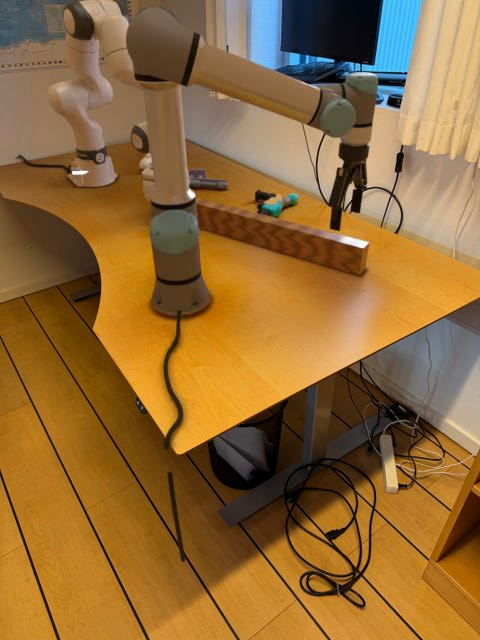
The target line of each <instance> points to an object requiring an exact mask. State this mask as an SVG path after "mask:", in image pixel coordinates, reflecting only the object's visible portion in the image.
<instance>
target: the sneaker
mask: <svg viewBox="0 0 480 640" xmlns="http://www.w3.org/2000/svg"><path fill="white" fill-rule="evenodd" d="M151 162H152V160H151V154H150V153H146V155H145V156H144V157H143V158H142V159H141V160H140V162H139V169H141V170H142V171H143V170H144V169H145V168H147V167H148V165H149V164H150V163H151Z"/></svg>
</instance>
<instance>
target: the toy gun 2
mask: <svg viewBox="0 0 480 640" xmlns="http://www.w3.org/2000/svg"><path fill="white" fill-rule="evenodd" d="M254 200H255V202H259V201H260V202H259V203H258V204H257V205H256V208H257V211H256V213H259V214H263V215H266V216H270V217H274V218H277V217H279V216H280V215H281V214H282V209H283V208H284V207H286V206H289V205H294V204H296V203H297V201H299V195H298V194H297V193H289V194H287V196H285V197H284V195H282V194H280V193H274V192H271V193H269V192H266V191H262V190H261V189H257V190H256V191H255V193H254Z"/></svg>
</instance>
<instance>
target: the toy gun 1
mask: <svg viewBox="0 0 480 640" xmlns="http://www.w3.org/2000/svg"><path fill="white" fill-rule="evenodd" d="M188 173H189V179H190V184H189V188H198V189H212V190H213V189H216V190H227V188H228V186H229V184H228V180H227V179H220V178H219V179H218V178H216V179H215V178H206V172H205V169H201V168H196V169H195V168H194V169H190V170H188Z"/></svg>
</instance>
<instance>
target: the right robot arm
mask: <svg viewBox="0 0 480 640" xmlns="http://www.w3.org/2000/svg"><path fill="white" fill-rule="evenodd" d="M126 46H127V51H128V54H129V56H130V58H131V60H132V62H133V69H134V77H135V81H136V82H137V83H138V84H139V85H140V86H141V87H142V88H143V90H142V93H143V102H144V109H145V119H146V121H147V126H148V134H149V142H150V150H151V158H152V166H153V174H154V183H155V191H154V192H153V193H152V194H151V196H150V198H151V202H150V205H151V212H152V219H151V220H150V222H149V226H148V227H149V230H148V237H149V241H150V244H151V251H152V252H151V253H152V260H153V268H154V274H155V275H154V276H155V281H154V284H153V290H152V294H151V305H152V308H153V310H154V311H155V312H156V313H157V314H159V315H160V316H163V317H167V318H171V319H176V325H175V326H176V332H175V337H174V340H173V342H172V343H171V346H169V348H168V350H167V351H166V354H165V356H164V360H163V377H164V382H165V386H166V390H167V391H168V394H169V395H170V398H171V399H172V400H173V402H174V404H175V407H176V408H177V418H176V420H175V422H174V423H173V424H172V425H171V427H170V428H169V429H168V431H167V433H166V434H165V437H164V442H163V449H164V450H168V449H169V448H170V442H171V438H172V436H173V434H174V432H175V431H176V430H177V429H178V427H179V426H180V425H181V424H182V421H183V418H184V409H183V405H182V402H181V401H180V400H179V398H178V396H177V395H176V393H175V391H174V390H173V387H172V384H171V380H170V379H171V378H170V376H169V360H170V356H171V355H172V353H173V351H174V350H175V348H176V346H177V345H178V343H179V340H180V335H181V320H182V319H183V318H185V319H186V318H190V317H194V316H196V315H199V314H201V313H202V312H204V311H205V310H207V308H208V307H209V306H210V303H211V294H210V293H211V292H210V290H209V288H208V286H207V284H206V281H205V278H204V277H203V275H202V262H201V261H202V259H201V247H200V228H199V226H198V223H197V220H198V216H197V210H196V198H195V197H196V193H195V191H194V190H193V189H192V188H191V187H189V183H188V173H189V170H188V158H187V148H186V134H185V122H184V121H185V120H184V109H183V96H182V86H183V87H186V88H190V87H191V86H193V85H197V86H199V87H201V88H205V89H208V90H210V91H212V92H216V93H219V94H222V95H224V96H227V97H230V98H233V99H236V100H238V101H240V102H243V103H246V104H249V105H252V106H254V107H257V108H261V109H262V110H265V111H268V112H271V113H273V114H276V115H278V116H282V117H284V118H287V119H291V120H293V121H296V122H298V123H301V124H304V125H306V126H308V127H311V128H313V129H316V130H318V131H321V132H322V133H324V135H326V136H328V137H330V138H333V139H338V138H339V141H340V142H339V144H338V154H337V156H338V158H339V159H340V160H342V161H343V162H342V166H341V167H340V166H338V167H337V168H336V172H335V177H334V181H333V186H332V188H331V193H330V195H329V200H328V204H327V207H329V208H331V210H330V211H331V213H330V222H329V230H332V231H336V232H340V231H341V225H342V217H343V209H344V208H343V203H344V200H345V197H346V194H347V192H348V189H349V187H350V185H352V184H353V186H354V188H353V189H352V195H351V202H350V208H349V209H350V211H349V212H350V213H354V214H360V213H361V208H362V202H363V194H364V191H367V189H368V186H367V185H368V169H367V168H368V167H367V159H368V158H369V154H370V153H369V152H370V146H371V145H370V142H371V140H372V134H373V125H374V124H373V122H374V116H375V111H376V103H377V98H378V89H379V78H378V77H379V76H377V75H376V74H375V73H372V72H367V71H365V72H363V71H359V72H357V71H356V72H350V73H348V74H347V75H346V77H345V81H344V82H342V83H336V84H335V83H334V84H309V83H307V82H304V81H301V80H300V79H297V78H294V77H292V76H289V75H286V74H284V73H282V72H279V71H277V70H275V69H271V68H269V67H267V66H264V65H262V64H258V63H257V62H254V61H252V60H250V59H247V58H244V57H242V56H239V55H237V54H234V53H232V52H229V51H227V50H224V49H221V48H219V47H216V46H214V45H212V44H209V43H207V42H206V41H205V39H204V37H203V35H202V34H200V33H197V32H195V31H193V30H191V29H189V28H187V27H185V26H183V25H182V23H181V21H180V20H179V19H178V17H177V16H176V15H175V14H174V13H173V12H172V11H171V10H170V9H167V8H166V7H163V6H156V5H152V6H145V7H144V8H142V9H140V10H139V11H138V12H137V13H136V14H135V15H134V17H132V19H131V22H130V24H129V26H128V29H127V33H126ZM166 473H167V482H168V491H169V497H170V503H171V504H170V505H171V510H172V516H173V523H174V527H175V534H176V538H177V544H178V550H179V557H180V561H181V562H182V563H183V562H185V561H186V556H185V549H184V544H183V543H184V542H183V537H182V530H181V525H180V520H179V514H178V506H177V498H176V491H175V483H174V475H173V472H169V471H168V472H167V471H166Z"/></svg>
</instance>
